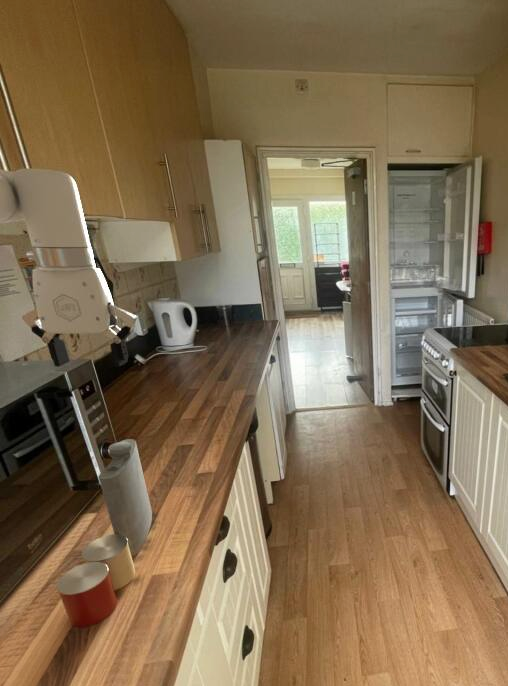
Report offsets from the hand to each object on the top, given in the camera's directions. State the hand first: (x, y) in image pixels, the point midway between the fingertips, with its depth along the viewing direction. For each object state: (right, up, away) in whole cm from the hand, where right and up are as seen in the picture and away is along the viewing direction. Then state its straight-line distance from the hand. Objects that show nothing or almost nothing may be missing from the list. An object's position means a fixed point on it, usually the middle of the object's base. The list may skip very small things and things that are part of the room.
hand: (92, 364), depth 74 cm
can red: (+3, -41, -4) cm, 41 cm away
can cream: (+2, -38, +2) cm, 38 cm away
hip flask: (0, -33, +14) cm, 36 cm away
